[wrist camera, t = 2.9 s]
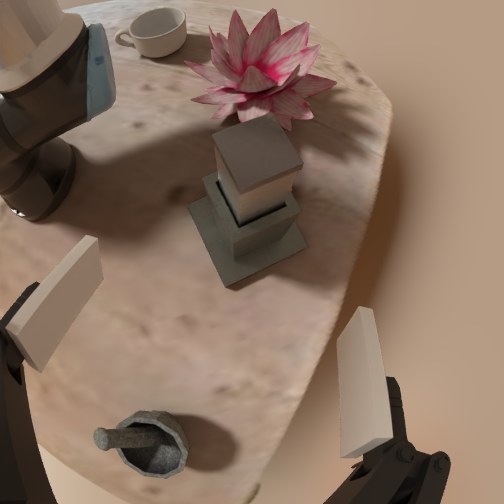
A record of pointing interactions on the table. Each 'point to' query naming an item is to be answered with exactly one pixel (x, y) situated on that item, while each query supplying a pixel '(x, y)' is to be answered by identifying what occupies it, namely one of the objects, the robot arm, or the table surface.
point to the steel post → (255, 167)
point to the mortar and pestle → (148, 443)
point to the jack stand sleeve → (244, 234)
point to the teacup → (156, 32)
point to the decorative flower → (262, 71)
